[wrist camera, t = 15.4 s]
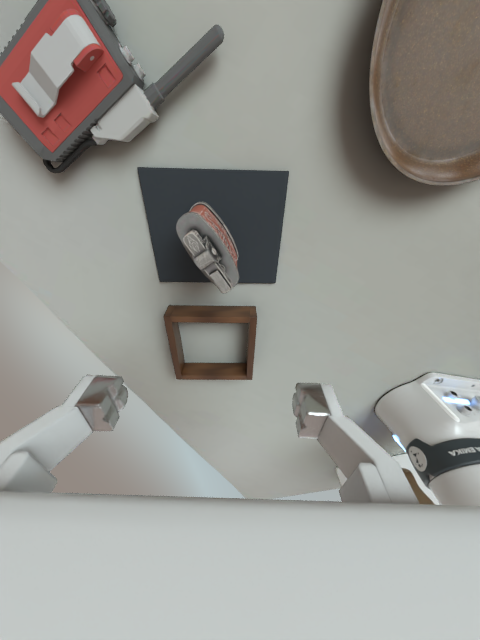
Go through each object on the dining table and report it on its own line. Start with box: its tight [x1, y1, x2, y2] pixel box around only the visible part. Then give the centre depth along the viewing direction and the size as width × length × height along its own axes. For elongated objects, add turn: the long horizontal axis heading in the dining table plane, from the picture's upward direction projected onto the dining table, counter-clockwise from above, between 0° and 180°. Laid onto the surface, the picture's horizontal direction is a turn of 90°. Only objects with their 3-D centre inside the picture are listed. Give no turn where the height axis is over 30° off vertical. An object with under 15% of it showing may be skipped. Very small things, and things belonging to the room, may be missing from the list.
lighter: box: [176, 202, 239, 293], centre depth 23 cm, size 8×3×10 cm, turn 32°
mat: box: [137, 167, 289, 283], centre depth 27 cm, size 16×13×1 cm
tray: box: [164, 306, 257, 380], centre depth 36 cm, size 13×13×3 cm
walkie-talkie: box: [0, 0, 224, 173], centre depth 18 cm, size 9×4×20 cm
